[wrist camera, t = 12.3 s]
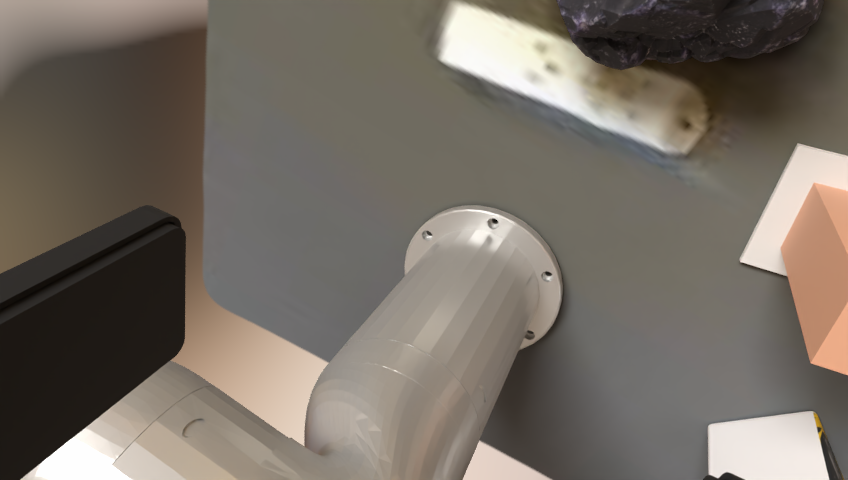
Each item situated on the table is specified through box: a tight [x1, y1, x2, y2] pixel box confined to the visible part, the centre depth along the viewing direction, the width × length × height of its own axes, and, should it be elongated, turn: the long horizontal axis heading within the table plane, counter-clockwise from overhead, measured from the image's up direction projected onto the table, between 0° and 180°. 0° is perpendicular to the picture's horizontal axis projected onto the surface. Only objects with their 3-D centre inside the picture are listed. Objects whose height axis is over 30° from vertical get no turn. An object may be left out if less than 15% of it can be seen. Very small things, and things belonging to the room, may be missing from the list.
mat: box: [740, 143, 848, 276], centre depth 35 cm, size 8×8×1 cm
